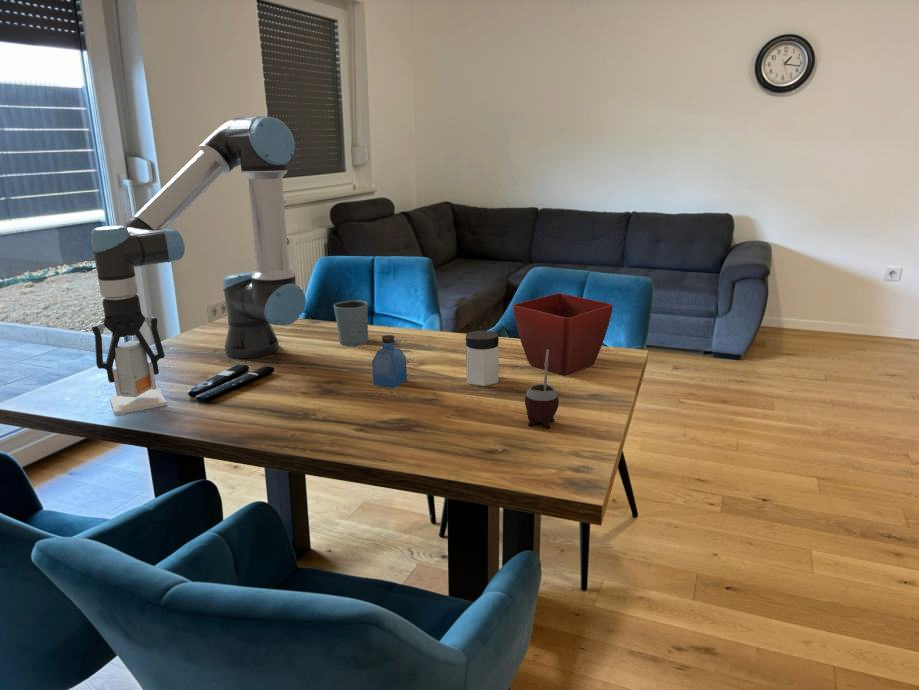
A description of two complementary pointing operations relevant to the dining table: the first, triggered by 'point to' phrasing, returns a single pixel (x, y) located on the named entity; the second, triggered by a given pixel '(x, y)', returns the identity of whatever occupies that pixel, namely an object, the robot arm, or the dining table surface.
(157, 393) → the coaster
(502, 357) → the dining table surface
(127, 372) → the skincare box
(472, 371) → the jar
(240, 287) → the robot arm
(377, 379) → the perfume bottle
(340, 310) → the grey cup
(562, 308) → the plant pot
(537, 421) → the mate gourd
